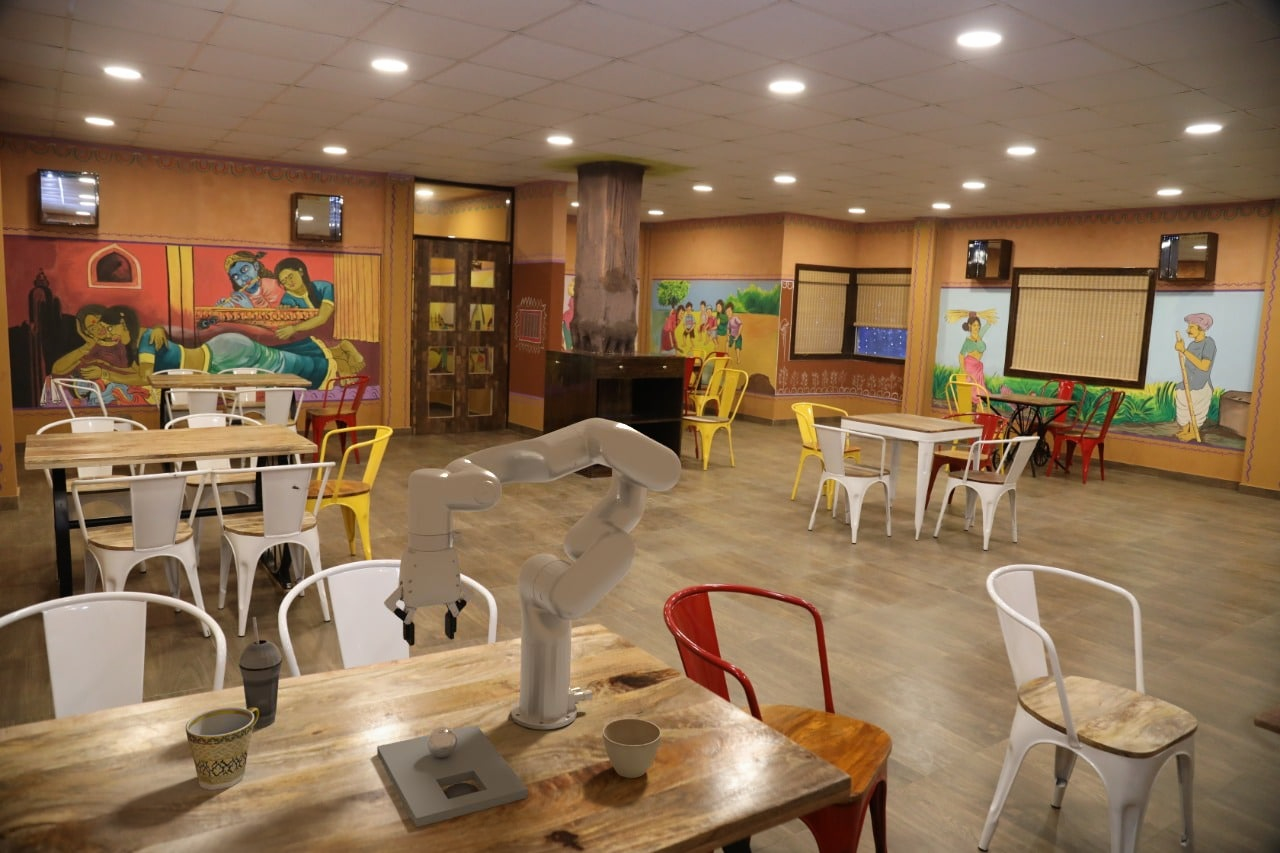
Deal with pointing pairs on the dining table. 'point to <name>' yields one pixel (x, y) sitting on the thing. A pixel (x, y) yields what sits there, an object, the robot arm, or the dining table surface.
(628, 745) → the flower pot
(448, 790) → the grey flat plate
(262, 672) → the beverage cup
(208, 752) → the ceramic cup
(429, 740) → the ball
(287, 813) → the dining table surface
